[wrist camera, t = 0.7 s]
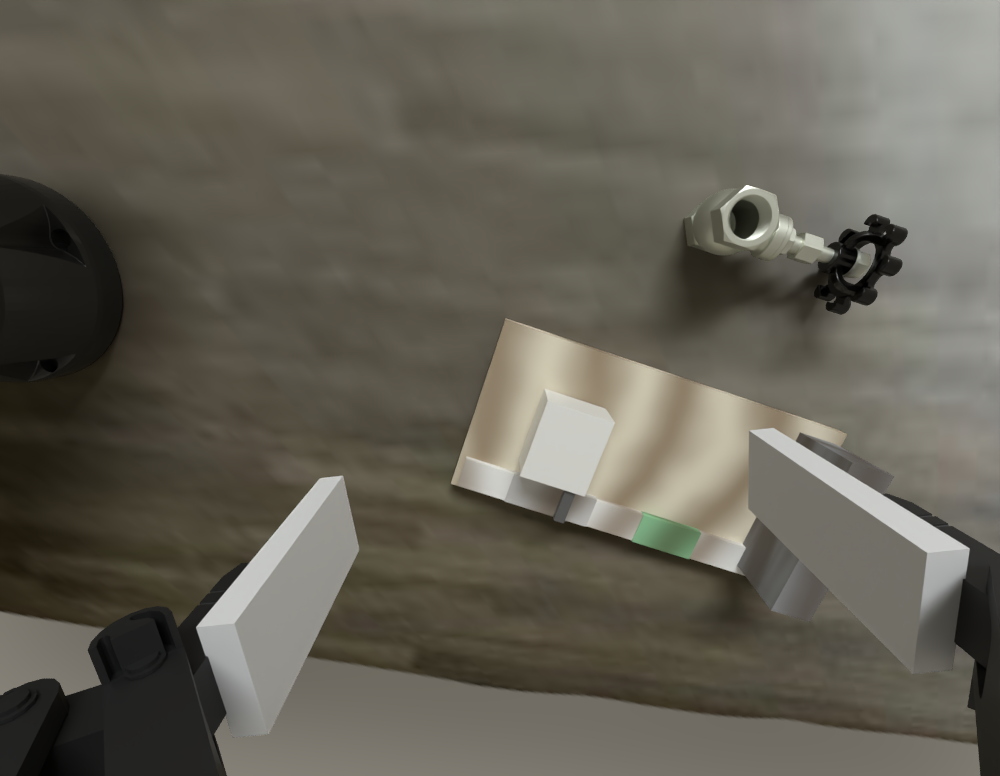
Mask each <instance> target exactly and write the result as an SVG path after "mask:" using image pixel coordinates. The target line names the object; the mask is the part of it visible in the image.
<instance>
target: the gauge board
mask: <svg viewBox="0 0 1000 776" xmlns="http://www.w3.org/2000/svg"><path fill="white" fill-rule="evenodd" d="M544 388H545V389H548V390H551V391H554V392H557V393H560V394H563V395H566V396H569V397H572V398H575V399H578V400H581V401H584V402H587V403H590V404H593V405H596V406H599V407H602V408H605V409H606V410H607V411H608V413H609V414H610V416H611V417H612V419H613V420H614V422H615V424H614V426H613V429H612V431H611V434H610V436H609V439H608V441H607V443H606V446H605V448H604V451H603V453H602V456H601V458H600V460H599V463H598V465H597V468H596V470H595V473H594V475H593V477H592V480H591V482H590V485H589V487H588V490H587V492H586V494H585V497H584V496H581V495H578V494H575V497H574V499H573V502H572V504H571V507H570V509H569V512H568V514H567V517H566V519H565V521H569V522H572V523H575V524H578V525H581V526H585V527H586V526H587V527H591V528H594V529H597V530H600V531H603V532H607V533H610V534H613V535H616V536H619V537H622V538H626V539H629V540H631V541H632V542H635V543H638V544H641V545H644V546H648V547H651V548H654V549H657V550H660V551H664V552H667V553H670V554H673V555H676V556H680V557H683V558H686V559H693V560H696V561H699V562H702V563H705V564H709V565H712V566H715V567H718V568H721V569H725V570H728V571H731V572H734V573H737V574H741V575H744V576H746V578H747V579H748V580H749V582H750V583H751V584H752V586H753V587H754V588H755V590H756V591H757V592H758V594H759V595H760V596H761V598H762V599H763V600H764V602H765V603H766V604H767V606H768V607H769V608H770V610H772V611H775V612H778V613H781V614H784V615H788V616H791V617H794V618H797V619H801V620H804V621H807V622H810V620H811V618H812V617H813V615H814V613H815V612H816V610H817V608H818V606H819V605H820V603H821V601H822V600H823V598H824V596H825V594H826V593H827V591H828V588H827V587H826V586H825V585H824V584H823V583H822V582H821V581H820V580H819V579H818V578H817V577H816V576H815V575H814V574H813V573H812V572H811V571H810V570H809V569H808V568H807V567H806V566H805V565H804V564H803V563H802V562H801V561H800V560H799V559H798V558H797V557H796V556H795V555H794V554H793V553H792V552H791V551H790V550H789V549H788V548H787V547H786V546H785V545H784V544H783V543H782V542H781V541H780V540H779V539H778V538H777V537H776V536H775V535H774V534H773V533H772V532H771V531H770V530H769V529H768V528H767V527H766V526H765V525H764V524H763V523H762V522H761V521H760V520H759V519H758V518H757V517H756V516H755V515H754V514H753V513H752V512H751V511H750V510H749V509H748V481H749V431H750V430H759V429H768V428H775V429H776V430H778V431H779V432H781V433H783V434H784V435H786V436H788V437H789V438H791V439H792V440H794V441H796V442H797V443H799V444H801V445H802V446H804V447H805V448H807V449H809V450H810V451H812V452H814V453H815V454H817V455H818V456H820V457H822V458H823V459H825V460H827V461H828V462H830V463H831V464H833V465H835V466H836V467H838V468H840V469H841V470H843V471H844V472H846V473H848V474H849V475H851V476H853V477H854V478H856V479H857V480H859V481H861V482H862V483H864V484H866V485H867V486H869V487H870V488H872V489H874V490H875V491H877V492H879V493H880V494H884V493H885V491H886V490H887V488H888V486H889V484H890V483H891V481H892V479H893V478H894V476H892V475H891V474H889V473H887V472H885V471H883V470H882V469H880V468H878V467H876V466H874V465H872V464H871V463H869V462H867V461H865V460H863V459H862V458H860V457H858V456H856V455H854V454H852V453H851V452H849V451H847V450H845V449H843V448H842V447H841V445H842V443H843V441H844V440H845V438H846V436H847V434H845V433H843V432H841V431H839V430H837V429H834V428H831V427H828V426H825V425H822V424H819V423H816V422H813V421H810V420H807V419H804V418H801V417H799V416H796V415H793V414H790V413H787V412H784V411H781V410H778V409H775V408H772V407H769V406H766V405H763V404H760V403H757V402H754V401H751V400H748V399H745V398H742V397H739V396H736V395H733V394H730V393H727V392H724V391H721V390H718V389H715V388H712V387H709V386H706V385H703V384H700V383H697V382H694V381H691V380H688V379H685V378H682V377H679V376H676V375H673V374H670V373H667V372H664V371H661V370H658V369H655V368H652V367H649V366H646V365H644V364H641V363H638V362H635V361H632V360H629V359H626V358H623V357H620V356H617V355H614V354H611V353H608V352H605V351H602V350H599V349H596V348H593V347H590V346H587V345H584V344H581V343H578V342H575V341H572V340H569V339H566V338H563V337H560V336H557V335H554V334H551V333H548V332H545V331H542V330H539V329H536V328H533V327H530V326H527V325H524V324H521V323H518V322H515V321H512V320H509V319H505V322H504V325H503V328H502V331H501V334H500V337H499V340H498V343H497V346H496V349H495V352H494V355H493V358H492V361H491V364H490V367H489V370H488V373H487V376H486V379H485V382H484V385H483V388H482V391H481V394H480V397H479V400H478V403H477V406H476V409H475V412H474V415H473V418H472V421H471V424H470V427H469V430H468V433H467V436H466V439H465V442H464V445H463V448H462V451H461V454H460V457H459V460H458V463H457V466H456V469H455V472H454V475H453V478H452V482H451V484H453V485H457V486H460V487H463V488H466V489H469V490H473V491H476V492H479V493H482V494H485V495H489V496H492V497H495V498H498V499H501V500H504V501H505V502H508V503H511V504H514V505H518V506H521V507H524V508H527V509H530V510H533V511H537V512H540V513H543V514H546V515H549V516H553V515H554V513H555V510H556V508H557V505H558V503H559V500H560V497H561V495H562V492H563V490H562V489H559V488H556V487H552V486H549V485H546V484H543V483H540V482H537V481H534V480H530V479H527V478H524V477H521V476H520V466H519V457H520V454H521V451H522V449H523V446H524V443H525V440H526V438H527V435H528V432H529V429H530V427H531V424H532V421H533V419H534V416H535V413H536V410H537V408H538V405H539V402H540V399H541V397H542V394H543V391H544Z"/></svg>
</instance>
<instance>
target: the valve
mask: <svg viewBox="0 0 1000 776" xmlns="http://www.w3.org/2000/svg"><path fill="white" fill-rule="evenodd" d="M864 224H865V225H868V226H870V227H869V230H868V231H863V232H858V231H855V230H852V229H846V230H845V231H844V232H843V233H842V234H841V235H840V237H839V242H834V243H831V244H830V245H829V246H827V247H825V246H824V240H823V238H820V237H817V236H814V235H811V234H808V233H800V234H797V235H796V230H795V229H793V221H792V219H791V218H790V217H788V216H785V215H782V214H779V208H778V201H777V197H776V195H775V194H772V193H770V192H767V191H764V190H762V189H758V188H755V187H751V186H748V185H745V186H743V187H740V188H737V189H726V190H722V191H719V192H717V193H714V194H713V195H711V196H710V197H708V198H707V199H705V200H704V201H703V202H702V203H701V204H699V205H698V206H697V207H696V208H695V209H694V210H693V211H692V212H691V213H689V214H688V215H687V216H686V217H685V218H684V225H685V232H686V240H687V245H688V246H691V247H694V248H697V249H700V250H703V251H706V252H709V253H712V254H715V255H732V254H735V253H738V252H740V251H750V252H751V255H752V256H753V257H755V258H758V259H761V260H764V261H771V260H773V259H774V258H776V257H777V256H778V255H784V254H785V253H786V252H787V258H789V259H792V260H795V261H798V262H801V263H804V264H811V263H813V262H814V261H818V268H819V270H820V271H822V272H825V273H828V274H829V278H828V285H826V286H822V285H818V286H817V288H816V289H815V292H814V296H815V297H816V298H819V299H822V300H825V301H831V300H833V299H834V298H835V296H836V300H835V301H834V303H830V302H827V303H826V309H827V310H828V311H831V312H834V313H837V314H840V315H842V314H844V313H846V312H847V311H848V310H849V308H850V306H851V301H853V302H856V303H859V304H862V305H870V304H872V303H873V302H874V301H875V299H876V297H877V290H876V289H874V285H875V283H876V282H877V281H878V279H879V278H880V277H881V276H882V275H886V276H894V275H895V274H897V273H898V272H899V271H900V269H901V267H902V260H901V259H898V258H896V257H893V256H890V254H891V250H892V249H893V247H894V246H897V245H899V244H901V243H902V242H903V241H904V240H905V239H906V237H907V234H908V231H907V229H906V228H903V227H900V226H897V225H894V224H890V220H889V219H888V218H885V217H882V216H879V215H876V214H873V215H871V216H869V217H868V218H867V219H866V221H865V222H864ZM885 231H886V235H884V234H883V233H884V232H885ZM869 243H873V244H874V245H875V248H876V253H875V258H874V261H873V263H872V265H871V267H870V269H869V271H868V272H867V273H866V275H865V276H864V277H863V278H862V279H861V280H860V281H859V282H858V283H856V284H855V285H854V284H851V283H848V282H846V281H845V280H844V279H843V277H849V278H859V277H861V276H862V275H863V274H864V273H865V272H866V270H867V269H868V267H869V265H870V255H869V254H866V253H863V252H860V250H859V249H860V248H861V247H863V246H864V245H866V244H869Z"/></svg>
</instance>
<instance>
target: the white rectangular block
mask: <svg viewBox="0 0 1000 776" xmlns="http://www.w3.org/2000/svg"><path fill="white" fill-rule="evenodd" d="M614 424H615V422H614V420H613V419H612V417H611V416H610V414H609V413H608V411H607V410H606V409H605V408H602V407H599V406H596V405H593V404H590V403H587V402H584V401H581V400H578V399H575V398H572V397H569V396H566V395H563V394H560V393H557V392H554V391H551V390H548V389H545V388H544V391H543V394H542V397H541V399H540V402H539V405H538V408H537V410H536V413H535V416H534V419H533V421H532V424H531V427H530V429H529V432H528V435H527V438H526V440H525V443H524V446H523V449H522V451H521V454H520V457H519V466H520V476H521V477H524V478H527V479H530V480H534V481H537V482H540V483H543V484H546V485H549V486H552V487H556V488H559V489H562V490H563V492H562V495H561V497H560V500H559V503H558V505H557V508H556V510H555V513H554V515H553V520H554V521H557V522H560V523H563V524H564V522H565V519H566V517H567V514H568V512H569V509H570V507H571V504H572V502H573V499H574V497H575V494H578V495H581V496H584V497H585V494H586V492H587V490H588V487H589V485H590V482H591V480H592V477H593V475H594V473H595V470H596V468H597V465H598V463H599V460H600V458H601V456H602V453H603V451H604V448H605V446H606V443H607V441H608V439H609V436H610V434H611V431H612V429H613V426H614Z"/></svg>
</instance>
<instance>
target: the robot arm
mask: <svg viewBox="0 0 1000 776" xmlns="http://www.w3.org/2000/svg"><path fill="white" fill-rule="evenodd" d="M121 312H122V288H121V281H120V277H119V273H118V269H117V266H116V263H115V260H114V258H113V256H112V253H111V251H110V249H109V247H108V245H107V243H106V242H105V240H104V238H103V237H102V235H101V234H100V232H99V231H98V229H97V228H96V227H95V225H94V224H93V223H92V222H91V221H90V220H89V218H88V217H87V216H86V215H85V214H84V213H83V212H82V211H81V210H80V209H79V208H78V207H76V206H75V205H74V204H73V203H72V202H70V201H69V200H68V199H66V198H65V197H64V196H62V195H61V194H59V193H57V192H56V191H54V190H52V189H50V188H48V187H46V186H44V185H42V184H40V183H37V182H34V181H31V180H28V179H25V178H20V177H15V176H10V175H4V174H0V381H3V382H35V381H42V380H46V379H51V378H55V377H59V376H63V375H67V374H71V373H74V372H77V371H79V370H81V369H83V368H85V367H87V366H89V365H90V364H92V363H93V362H94V361H96V360H97V359H98V358H99V357H100V356H101V355H102V354H103V353H104V352H105V351H106V349H107V348H108V347H109V345H110V344H111V342H112V340H113V338H114V336H115V334H116V332H117V329H118V326H119V322H120V318H121ZM748 509H749V510H750V511H751V512H752V513H753V514H754V515H755V516H756V517H757V518H758V519H759V520H760V521H761V522H762V523H763V524H764V525H765V526H766V527H767V528H768V529H769V530H770V531H771V532H772V533H773V534H774V535H775V536H776V537H777V538H778V539H779V540H780V541H781V542H782V543H783V544H784V545H785V546H786V547H787V548H788V549H789V550H790V551H791V552H792V553H793V554H794V555H795V556H796V557H797V558H798V559H799V560H800V561H801V562H802V563H803V564H804V565H805V566H806V567H807V568H808V569H809V570H810V571H811V572H812V573H813V574H814V575H815V576H816V577H817V578H818V579H819V580H820V581H821V582H822V583H823V584H824V585H825V586H826V587H827V588H828V589H829V590H830V591H831V592H832V593H833V594H834V595H835V596H836V597H837V598H838V599H839V600H840V601H841V602H842V603H843V604H844V605H845V606H846V607H847V608H848V609H849V610H850V611H851V612H852V613H853V614H854V615H855V616H856V617H857V618H858V619H859V620H860V621H861V622H862V623H863V624H864V625H865V626H866V627H867V628H868V629H869V630H870V631H871V632H872V633H873V634H874V635H875V636H876V637H877V638H878V639H879V640H880V641H881V642H882V643H883V644H884V645H885V646H886V647H887V648H888V649H889V650H890V651H891V652H892V653H893V654H894V655H895V656H896V657H897V658H898V659H899V660H900V661H901V662H902V663H903V664H904V665H905V666H906V667H907V669H908V670H909V671H910V672H911V673H912V674H918V673H928V672H939V671H950V670H952V669H953V662H954V655H955V648H956V644H957V645H958V646H959V647H961V648H962V649H963V650H964V651H965V652H967V653H968V654H969V655H970V656H971V657H973V658H974V659H975V662H974V669H973V675H972V681H971V688H970V694H969V700H968V708H971V709H974V710H975V713H976V726H977V738H978V749H979V762H980V775H981V776H1000V554H999V553H997V552H995V551H994V550H992V549H990V548H988V547H987V546H985V545H983V544H982V543H980V542H978V541H977V540H975V539H973V538H971V537H970V536H968V535H966V534H965V533H963V532H961V531H960V530H958V529H956V528H954V527H953V526H948V523H946V522H944V521H943V520H941V519H939V518H938V517H936V516H934V517H933V516H932V514H931V513H929V512H927V511H926V510H924V509H922V508H921V507H919V506H917V505H915V504H914V503H912V502H909V501H906V500H904V499H901V498H898V497H895V496H892V495H890V494H880V493H879V492H877V491H875V490H874V489H872V488H870V487H869V486H867V485H866V484H864V483H862V482H861V481H859V480H857V479H856V478H854V477H853V476H851V475H849V474H848V473H846V472H844V471H843V470H841V469H840V468H838V467H836V466H835V465H833V464H831V463H830V462H828V461H827V460H825V459H823V458H822V457H820V456H818V455H817V454H815V453H814V452H812V451H810V450H809V449H807V448H805V447H804V446H802V445H801V444H799V443H797V442H796V441H794V440H792V439H791V438H789V437H788V436H786V435H784V434H783V433H781V432H779V431H778V430H776V429H775V428H768V429H759V430H750V431H749V481H748ZM358 551H359V546H358V541H357V537H356V532H355V528H354V523H353V519H352V514H351V510H350V505H349V501H348V496H347V492H346V487H345V483H344V478H343V476H336V477H327V478H320V479H319V480H318V481H317V482H316V484H315V485H314V486H313V487H312V488H311V490H310V491H309V492H308V493H307V494H306V496H305V497H304V498H303V499H302V501H301V502H300V503H299V504H298V505H297V507H296V508H295V509H294V510H293V511H292V513H291V514H290V515H289V516H288V517H287V519H286V520H285V521H284V522H283V523H282V525H281V526H280V527H279V528H278V529H277V531H276V532H275V533H274V534H273V535H272V537H271V538H270V539H269V540H268V541H267V543H266V544H265V545H264V546H263V547H262V549H261V550H260V551H259V552H258V553H257V555H256V556H255V557H254V558H253V559H252V561H251V562H250V563H241V564H240V565H238V566H237V567H236V568H234V569H233V570H231V571H230V572H229V573H227V574H226V575H224V576H223V577H222V578H221V579H220V580H219V582H218V583H217V584H216V585H215V586H214V587H213V588H212V590H211V591H210V593H209V594H207V595H206V596H205V598H204V599H203V600H202V601H201V602H200V605H199V606H197V607H196V608H195V609H194V610H193V611H192V612H191V613H190V615H189V616H188V617H187V618H186V619H185V620H184V621H183V622H182V624H181V625H180V626H179V627H178V628H177V626H176V623H175V620H174V617H173V614H172V612H171V611H170V610H169V609H168V608H167V607H159V606H157V607H151V608H145V609H142V610H139V611H137V612H134V613H131V614H129V615H127V616H125V617H123V618H121V619H119V620H117V621H115V622H114V623H112V624H111V625H109V626H108V627H107V628H105V629H104V630H102V631H101V632H100V633H99V634H98V635H97V636H96V637H95V638H94V639H93V640H92V642H91V644H90V646H89V648H88V652H89V655H90V657H91V660H92V662H93V665H94V667H95V669H96V672H97V674H98V677H99V679H100V682H101V684H102V685H99V686H96V687H93V688H89V689H86V690H83V691H80V692H77V693H74V694H71V695H68V696H65V695H64V692H63V690H62V688H61V685H60V683H59V682H58V681H56V680H55V679H40V680H36V681H32V682H29V683H26V684H24V685H21V686H19V687H17V688H13V689H11V690H9V691H7V692H5V693H4V694H3V695H0V776H227V775H226V771H225V768H224V764H223V761H222V758H221V754H220V751H219V747H218V744H217V741H216V738H215V735H214V733H215V732H216V730H217V728H218V727H219V725H220V723H221V722H222V720H223V718H224V717H225V716H226V719H227V721H228V725H229V728H230V731H231V734H232V737H233V738H235V737H245V736H256V735H266V734H269V733H270V731H271V729H272V727H273V725H274V723H275V720H276V718H277V716H278V714H279V712H280V710H281V708H282V706H283V704H284V702H285V700H286V698H287V696H288V694H289V692H290V690H291V688H292V686H293V684H294V682H295V680H296V678H297V676H298V673H299V672H300V669H301V668H302V665H303V663H304V661H305V659H306V657H307V655H308V653H309V651H310V649H311V647H312V645H313V643H314V641H315V639H316V637H317V635H318V633H319V631H320V629H321V627H322V625H323V623H324V621H325V619H326V617H327V615H328V613H329V610H330V608H331V606H332V604H333V602H334V600H335V598H336V596H337V594H338V592H339V590H340V588H341V586H342V584H343V582H344V580H345V578H346V576H347V574H348V572H349V570H350V568H351V566H352V564H353V562H354V560H355V557H356V555H357V553H358Z"/></svg>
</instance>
